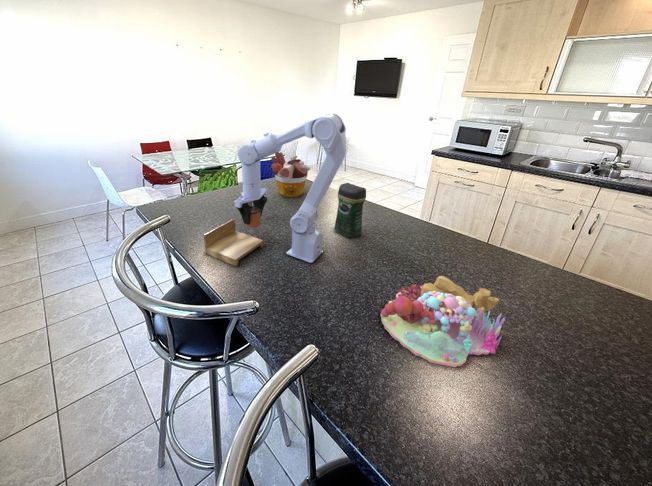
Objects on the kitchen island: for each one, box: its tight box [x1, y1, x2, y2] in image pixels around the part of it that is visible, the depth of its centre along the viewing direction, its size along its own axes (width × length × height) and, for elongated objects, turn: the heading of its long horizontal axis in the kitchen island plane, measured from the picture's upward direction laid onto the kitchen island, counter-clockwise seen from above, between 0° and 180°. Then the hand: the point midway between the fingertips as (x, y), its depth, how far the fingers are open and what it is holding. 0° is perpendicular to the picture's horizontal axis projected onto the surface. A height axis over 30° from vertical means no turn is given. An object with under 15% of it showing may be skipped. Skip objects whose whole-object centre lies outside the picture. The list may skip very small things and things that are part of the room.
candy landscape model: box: [380, 275, 506, 368], centre depth 68 cm, size 25×24×9 cm
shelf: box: [203, 218, 264, 267], centre depth 96 cm, size 13×14×7 cm
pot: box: [244, 205, 262, 229], centre depth 98 cm, size 6×6×6 cm
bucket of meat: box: [270, 151, 312, 198], centre depth 142 cm, size 20×16×20 cm
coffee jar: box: [334, 182, 367, 238], centre depth 106 cm, size 10×8×19 cm
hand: (252, 220), depth 99 cm, fingers closed on pot, 5 cm apart
